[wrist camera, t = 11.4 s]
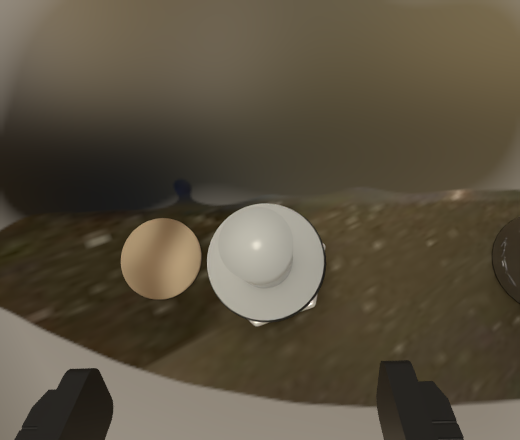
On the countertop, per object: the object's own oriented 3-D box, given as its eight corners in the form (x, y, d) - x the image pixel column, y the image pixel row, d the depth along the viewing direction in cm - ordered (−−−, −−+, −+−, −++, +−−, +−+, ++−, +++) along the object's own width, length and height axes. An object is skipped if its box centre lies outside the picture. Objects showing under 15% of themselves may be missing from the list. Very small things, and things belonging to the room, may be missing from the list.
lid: (318, 204, 28) (329, 163, 20) (326, 317, 26) (342, 322, 18) (210, 211, 28) (177, 172, 20) (211, 321, 27) (176, 327, 19)
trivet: (201, 217, 40) (200, 215, 40) (202, 297, 39) (200, 297, 38) (124, 221, 41) (122, 220, 40) (121, 301, 39) (119, 301, 39)
